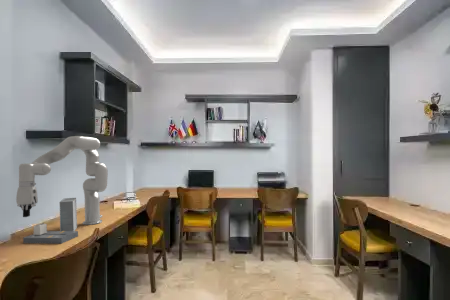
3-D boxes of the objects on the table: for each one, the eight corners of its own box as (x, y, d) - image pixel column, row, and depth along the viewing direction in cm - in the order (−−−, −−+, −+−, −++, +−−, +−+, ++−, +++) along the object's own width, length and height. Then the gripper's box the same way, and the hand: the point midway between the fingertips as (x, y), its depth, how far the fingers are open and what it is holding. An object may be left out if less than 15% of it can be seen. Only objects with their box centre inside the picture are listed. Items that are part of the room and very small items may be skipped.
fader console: (42, 235, 172) (42, 230, 172) (78, 236, 169) (78, 230, 169) (23, 243, 158) (23, 237, 158) (61, 243, 155) (61, 237, 155)
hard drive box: (64, 228, 188) (63, 198, 189) (77, 227, 191) (76, 197, 192) (59, 234, 174) (59, 201, 174) (73, 233, 177) (73, 200, 177)
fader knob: (40, 232, 167) (40, 223, 167) (46, 232, 167) (46, 223, 167) (33, 234, 162) (33, 225, 162) (40, 234, 161) (39, 225, 161)
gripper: (43, 184, 168) (43, 215, 168) (20, 184, 170) (20, 215, 170) (33, 185, 161) (33, 218, 160) (9, 185, 163) (9, 217, 162)
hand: (26, 216), depth 165 cm, fingers closed
